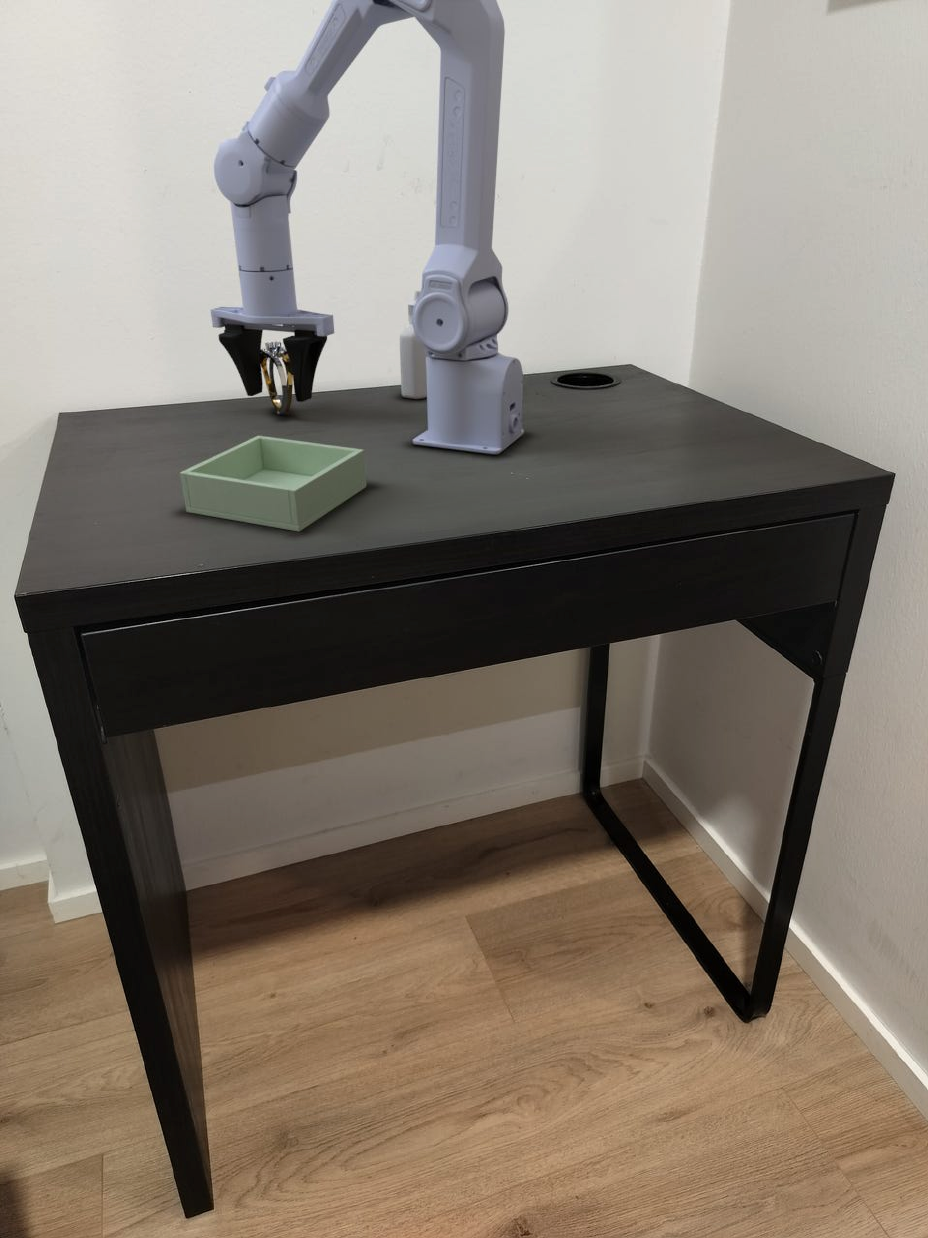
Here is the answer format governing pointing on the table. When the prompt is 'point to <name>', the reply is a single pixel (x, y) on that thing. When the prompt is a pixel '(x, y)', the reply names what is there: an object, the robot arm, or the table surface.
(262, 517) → the bin
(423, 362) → the eye dropper bottle
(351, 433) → the table surface
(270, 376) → the ring
